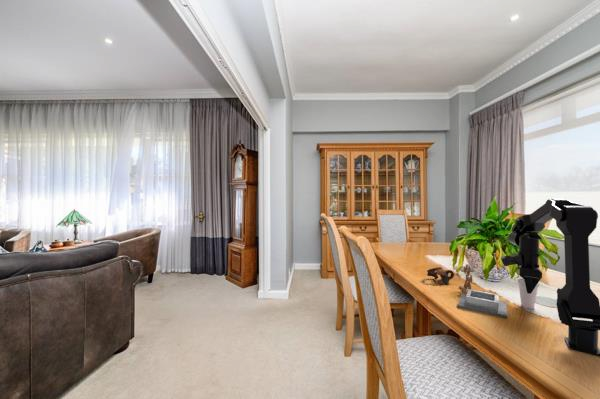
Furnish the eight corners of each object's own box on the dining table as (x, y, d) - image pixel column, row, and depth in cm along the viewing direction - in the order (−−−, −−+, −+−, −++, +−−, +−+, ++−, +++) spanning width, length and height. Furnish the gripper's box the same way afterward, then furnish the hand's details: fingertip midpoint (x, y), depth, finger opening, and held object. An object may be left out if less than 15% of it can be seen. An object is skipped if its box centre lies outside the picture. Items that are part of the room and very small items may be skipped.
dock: (507, 318, 92) (507, 307, 92) (457, 307, 101) (457, 296, 101) (506, 304, 104) (506, 294, 104) (461, 295, 113) (462, 286, 113)
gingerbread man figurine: (476, 295, 114) (477, 267, 113) (466, 294, 115) (467, 266, 114) (468, 288, 122) (468, 262, 122) (459, 287, 123) (459, 261, 123)
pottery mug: (433, 286, 127) (426, 268, 130) (429, 288, 135) (423, 272, 139) (459, 280, 125) (452, 263, 129) (454, 284, 133) (447, 267, 137)
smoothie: (543, 310, 99) (543, 273, 98) (523, 309, 100) (524, 272, 100) (531, 303, 105) (532, 268, 105) (513, 302, 106) (513, 267, 106)
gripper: (502, 243, 114) (501, 279, 115) (502, 250, 99) (501, 292, 100) (536, 246, 108) (536, 285, 108) (542, 254, 93) (541, 299, 93)
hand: (527, 289), depth 102 cm, fingers open, 9 cm apart
